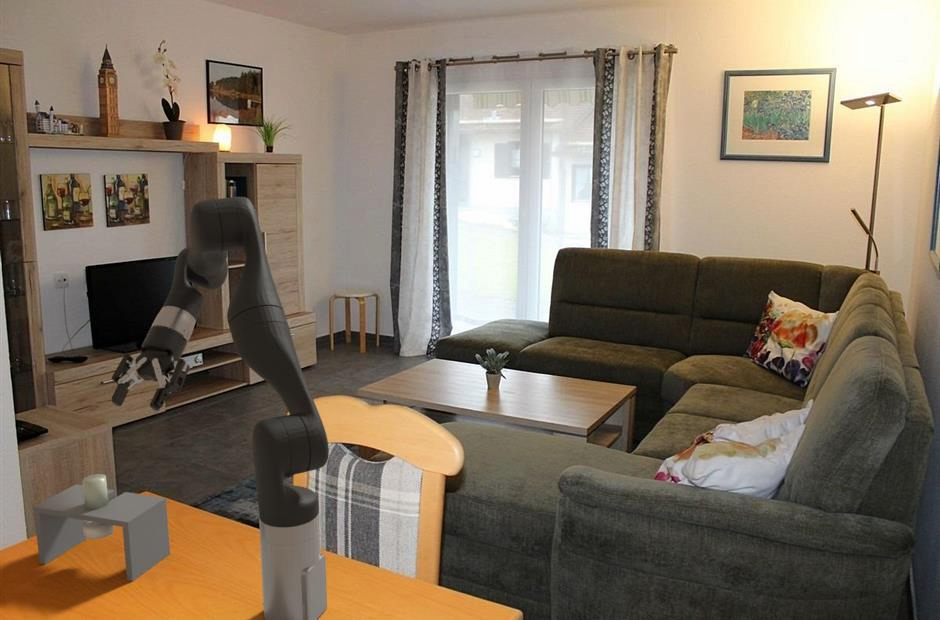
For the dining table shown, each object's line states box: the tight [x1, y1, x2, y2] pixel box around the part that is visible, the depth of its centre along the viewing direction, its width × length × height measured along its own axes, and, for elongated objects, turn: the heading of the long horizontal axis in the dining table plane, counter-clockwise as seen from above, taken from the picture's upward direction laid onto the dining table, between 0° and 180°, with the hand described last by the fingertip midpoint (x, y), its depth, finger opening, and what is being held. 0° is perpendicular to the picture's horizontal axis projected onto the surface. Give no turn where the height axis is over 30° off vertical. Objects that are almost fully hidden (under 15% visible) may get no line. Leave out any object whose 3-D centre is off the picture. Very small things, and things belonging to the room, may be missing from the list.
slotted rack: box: [33, 483, 171, 582], centre depth 144 cm, size 20×10×11 cm, turn 73°
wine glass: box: [82, 473, 115, 540], centre depth 142 cm, size 5×5×10 cm
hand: (134, 406), depth 150 cm, fingers open, 8 cm apart
